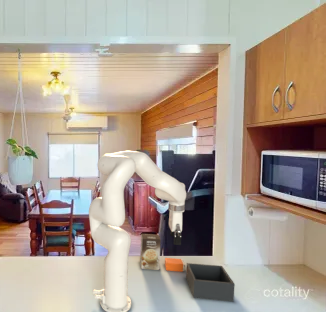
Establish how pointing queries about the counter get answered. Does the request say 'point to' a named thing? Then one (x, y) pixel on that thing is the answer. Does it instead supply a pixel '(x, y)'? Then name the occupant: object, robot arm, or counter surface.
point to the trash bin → (209, 282)
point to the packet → (174, 264)
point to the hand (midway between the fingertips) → (175, 240)
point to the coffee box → (150, 251)
